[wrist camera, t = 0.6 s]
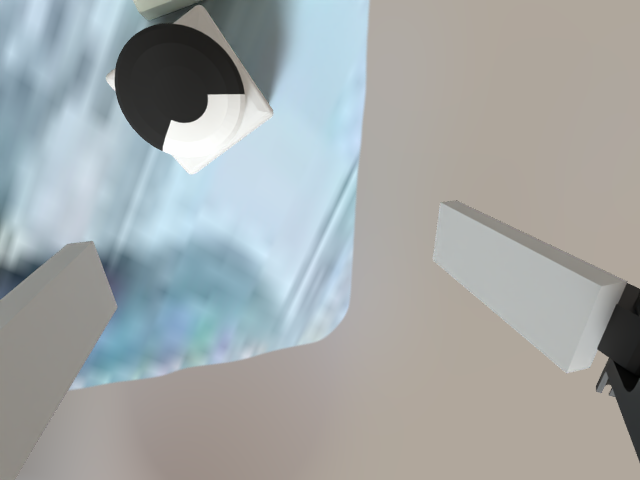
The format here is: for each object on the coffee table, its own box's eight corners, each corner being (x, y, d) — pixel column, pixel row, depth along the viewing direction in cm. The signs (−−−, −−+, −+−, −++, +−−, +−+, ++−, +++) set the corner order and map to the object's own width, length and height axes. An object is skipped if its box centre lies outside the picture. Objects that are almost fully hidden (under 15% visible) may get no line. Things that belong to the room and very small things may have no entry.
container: (137, 84, 26) (54, 68, 15) (211, 27, 26) (185, -35, 14) (202, 160, 30) (176, 197, 18) (268, 111, 29) (284, 117, 18)
